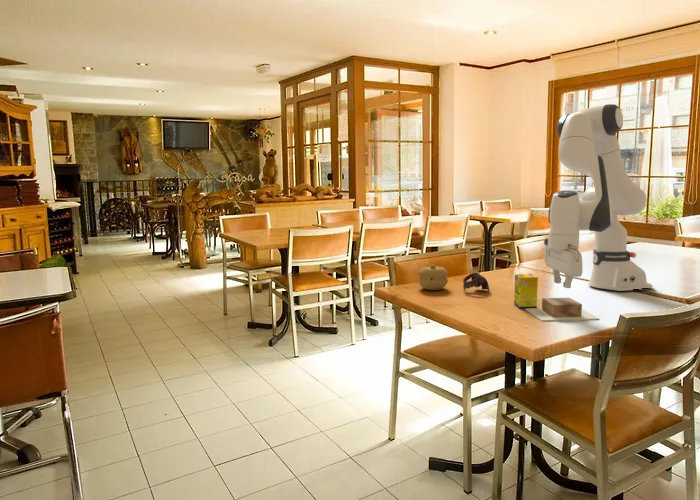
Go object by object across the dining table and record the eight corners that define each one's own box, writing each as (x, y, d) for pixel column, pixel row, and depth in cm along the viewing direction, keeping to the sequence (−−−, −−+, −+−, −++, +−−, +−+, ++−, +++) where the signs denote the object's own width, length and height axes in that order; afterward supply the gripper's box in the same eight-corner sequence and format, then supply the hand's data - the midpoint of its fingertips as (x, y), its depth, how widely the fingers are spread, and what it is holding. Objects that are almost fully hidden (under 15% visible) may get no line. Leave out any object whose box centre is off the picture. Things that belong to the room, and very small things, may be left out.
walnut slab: (568, 309, 174) (569, 297, 173) (581, 316, 165) (581, 304, 165) (541, 310, 174) (542, 298, 173) (552, 317, 165) (553, 305, 164)
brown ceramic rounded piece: (492, 294, 199) (483, 276, 197) (469, 304, 202) (460, 286, 200) (489, 281, 210) (480, 264, 208) (467, 291, 213) (458, 274, 211)
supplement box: (513, 304, 183) (514, 274, 182) (530, 304, 183) (531, 273, 182) (519, 309, 177) (520, 277, 176) (537, 308, 177) (538, 276, 176)
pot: (453, 290, 206) (453, 265, 205) (425, 293, 203) (425, 268, 202) (439, 285, 218) (439, 261, 216) (413, 287, 214) (413, 263, 213)
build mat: (578, 308, 177) (578, 307, 177) (599, 319, 163) (599, 318, 163) (525, 309, 176) (525, 308, 176) (541, 321, 162) (541, 320, 162)
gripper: (589, 246, 156) (587, 292, 158) (560, 238, 176) (558, 278, 178) (568, 247, 156) (566, 292, 158) (541, 238, 176) (540, 279, 178)
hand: (562, 285), depth 168 cm, fingers open, 6 cm apart
